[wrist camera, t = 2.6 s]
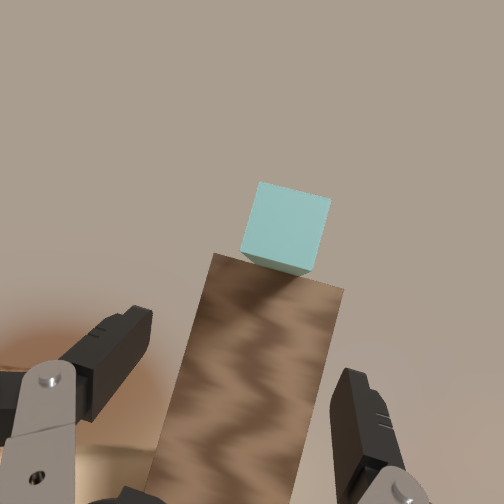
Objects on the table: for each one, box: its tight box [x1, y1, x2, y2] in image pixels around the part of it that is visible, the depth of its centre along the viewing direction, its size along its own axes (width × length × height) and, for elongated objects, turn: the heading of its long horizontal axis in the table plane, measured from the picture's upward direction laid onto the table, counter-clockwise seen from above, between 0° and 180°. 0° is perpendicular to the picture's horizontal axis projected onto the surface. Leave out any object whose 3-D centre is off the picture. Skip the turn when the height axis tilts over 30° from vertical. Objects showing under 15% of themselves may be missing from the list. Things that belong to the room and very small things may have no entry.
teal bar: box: [240, 182, 331, 276], centre depth 30 cm, size 4×28×4 cm, turn 175°
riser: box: [144, 253, 344, 504], centre depth 35 cm, size 12×18×32 cm, turn 175°
